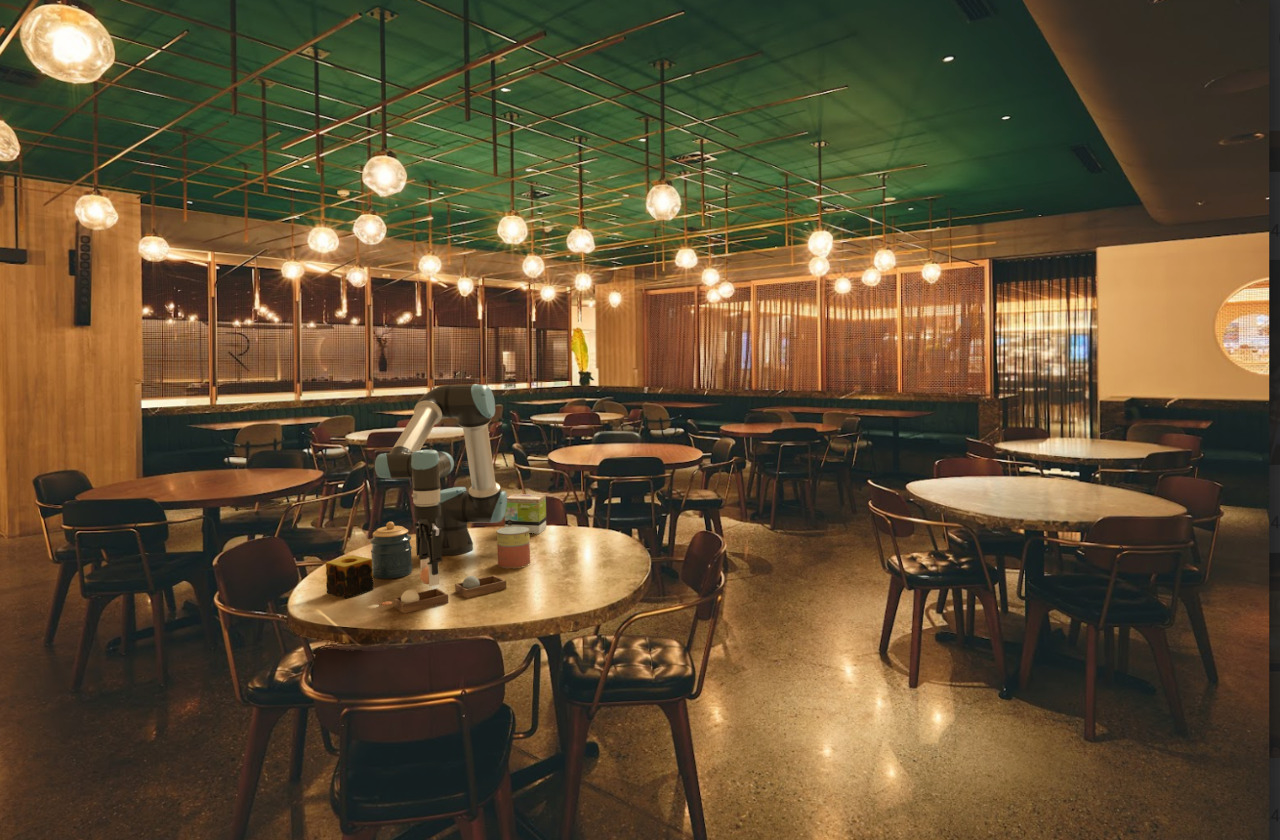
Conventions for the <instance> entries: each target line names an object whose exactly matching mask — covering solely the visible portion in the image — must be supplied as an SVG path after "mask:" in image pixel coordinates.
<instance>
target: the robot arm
mask: <svg viewBox="0 0 1280 840" xmlns="http://www.w3.org/2000/svg"><path fill="white" fill-rule="evenodd" d="M495 406H496V401H495V397H494V393H493V391H492V389H491V388H490V387H489V386H488V385H486V384H478V383H474V384H444V385H440V386H438V387H437V386H436V387H435V388H433V389H432V390H430V391H428V392H426V393H425V394H424V395H422V397H421V398H420V399H419V400H418V401H417V402H416V404H415V405H414V408H413V415H412V416H411V418H410V420H409V421H408V423H407V424H406V426H405V427H404V429H403V431H402V433H401V434H400V436H399V437H398V439H397V441H396V442H395V444H394V446H393V447H392V449H391V450H390V452H388V453H387V452H385V453H380V454H378V455H377V456H376V458H375V461H374V470H375V474H376V476H377V477H378V478H380V479H390V480H393V479H395V480H396V479H412V494H411V497H412V498H413V499H412V500H413V501H412V502H413V504H414V505H413V507H412V508H413V517H414V519H416V520H418V521H417V522H414V529H415V544H416V545H415V546H416V547H415V548H416V550H415V551H416V552H415V553H416V556H418V558H419V560H420V573H421V572H422V570H423V569H424V568H426V567H428V570H429V584H428V587H434V586H438V585H440V572H439V563H442V561H443V556H453V555H454V556H455V555H461V554H465V553H466V554H467V553H468V552H470V551H472V550H473V549H474V542H473V540H472V537H471V535H470V531H469V529H468V523H472V524H473V523H474V524H475V523H476V524H477V523H483V524H484V523H489V524H492V523H500V522H502V521H503V520H504V519H505V511H506V506H507V497H508V494H507V492H506V490H502V489H501V485H500V484H499V483H498V482H496V476H495V475H496V474H495V470H494V469H495V468H494V463H493V456H492V455H493V454H492V448H491V447H492V446H491V439H490V434H489V424H490V423H491V421H492V418H493V417H494V416H495V414H496V407H495ZM443 419H456V421H457V425H458V426H459V427H460V428H462V430H463V436H464V443H465V444H464V445H465V449H466V456H467V463H468V469H469V476H470V481H471V482H470V483H471V486H470V487H469V488H468V489H467V488H466V486H456V487H455V486H454V487H451V488H450V487H449V488H445V489H441V486H440V484H441V483H440V480H441V478H444V477H447V476H448V475H449V474H450V473H451V472H452V471H453V470H454V467H455V461H454V458H453V456H452V455H451V454H450V453H448V452H446V451H437V450H436V449H422V448H423V445H425V442H426V441H427V439H428V438H429V435H430V434H431V431H432V430H433V428H434V426H435V425H438V424H439V423H440V422H441V420H443ZM420 582H421V583H423V582H422V580H421V579H420Z"/></svg>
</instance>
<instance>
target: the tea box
mask: <svg viewBox="0 0 1280 840" xmlns="http://www.w3.org/2000/svg"><path fill="white" fill-rule="evenodd" d="M546 500H547V496H546V494H523V493H522V494H519V493H511V494H510V495H509V496H508V495H507V506H506V511H505V515H504V527H511V526H523V527H528V528H529V529H530V530H529V533H532V534H531V535H540V534H541V533H543V532H544V531H545V530H546V528H547V501H546ZM543 530H544V531H543ZM533 533H534V534H533ZM539 533H540V534H539Z"/></svg>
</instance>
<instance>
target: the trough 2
mask: <svg viewBox="0 0 1280 840" xmlns="http://www.w3.org/2000/svg"><path fill="white" fill-rule="evenodd" d="M478 580H479V583H480V585H479V587H475V588H471V589H466V588H464V587H463V582H459V583H455V584H454V586H455V587H454V592H455V593H456V594H458V595H460V596H462V597H464V598H465V599H469V598H474V597H477V596H478V597H479V596H481V595H485V594H489V593H494V592H498V591H501V590H506V589H507V580H506V579H503V578H501V577H500V576H496V575H494V574H493V575H488V576H485V577H481V578H480V577H479V578H478Z"/></svg>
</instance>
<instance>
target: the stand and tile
mask: <svg viewBox="0 0 1280 840" xmlns="http://www.w3.org/2000/svg"><path fill="white" fill-rule="evenodd" d="M381 605H383V606H388V605H389V606H390V605H393V601H383V602H382V603H381ZM379 606H380V605H379V604H370V605H368V606H367V609H375V608H378V607H379Z"/></svg>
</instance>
